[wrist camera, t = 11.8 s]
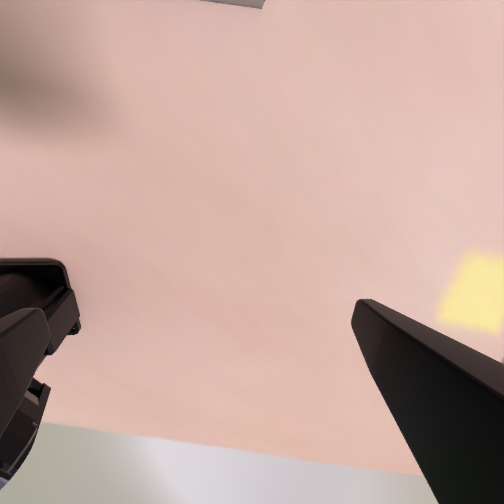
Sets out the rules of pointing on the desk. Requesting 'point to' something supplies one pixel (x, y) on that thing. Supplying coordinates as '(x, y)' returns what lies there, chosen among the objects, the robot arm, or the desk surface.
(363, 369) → the desk surface
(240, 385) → the desk surface
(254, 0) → the tray
